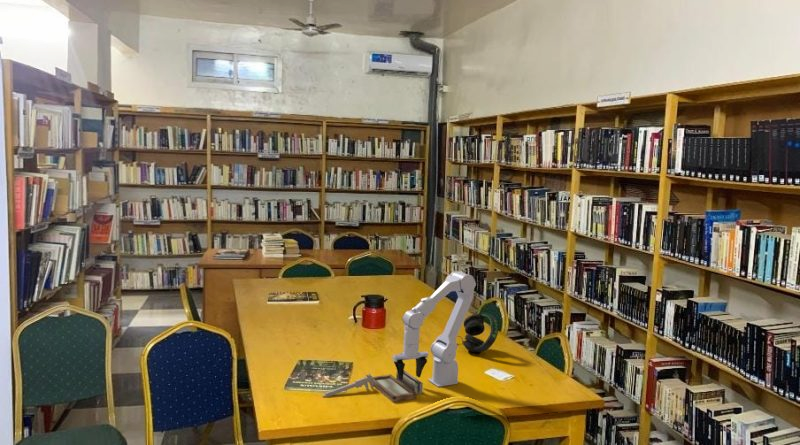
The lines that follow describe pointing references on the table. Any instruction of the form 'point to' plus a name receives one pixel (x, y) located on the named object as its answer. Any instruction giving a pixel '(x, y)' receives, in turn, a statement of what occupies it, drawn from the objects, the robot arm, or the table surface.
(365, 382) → the caliper
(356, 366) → the table surface
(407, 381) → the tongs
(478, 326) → the headset
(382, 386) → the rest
